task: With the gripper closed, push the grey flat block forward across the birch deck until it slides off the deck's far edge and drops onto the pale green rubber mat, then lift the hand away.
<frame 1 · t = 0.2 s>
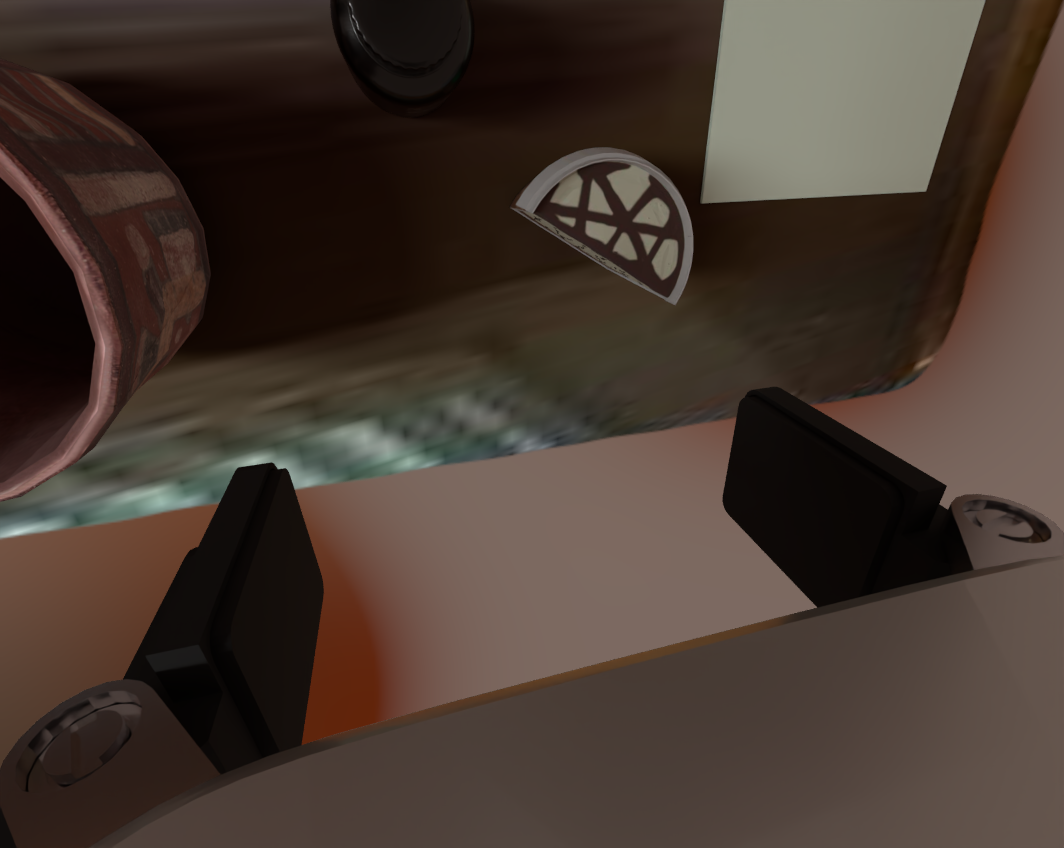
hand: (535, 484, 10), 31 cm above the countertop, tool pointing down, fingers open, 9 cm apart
pottery: (80, 227, 32), on the countertop
food container: (580, 202, 38), on the countertop
supplement bottle: (401, 55, 32), on the countertop
mat: (842, 83, 39), on the countertop
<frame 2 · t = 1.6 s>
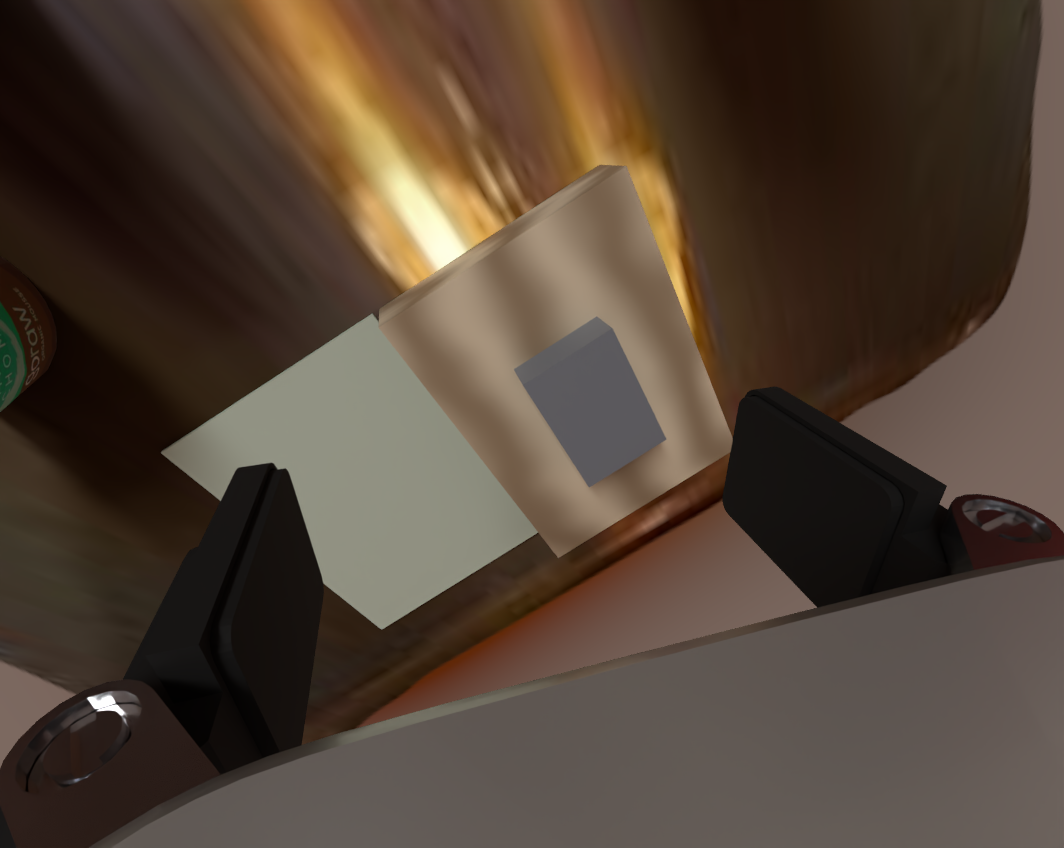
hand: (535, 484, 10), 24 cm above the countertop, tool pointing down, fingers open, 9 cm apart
food container: (12, 314, 27), on the countertop
grey flat block: (586, 397, 33), point 4 cm above the countertop, touching deck
mat: (377, 495, 37), on the countertop
deck: (567, 374, 37), on the countertop
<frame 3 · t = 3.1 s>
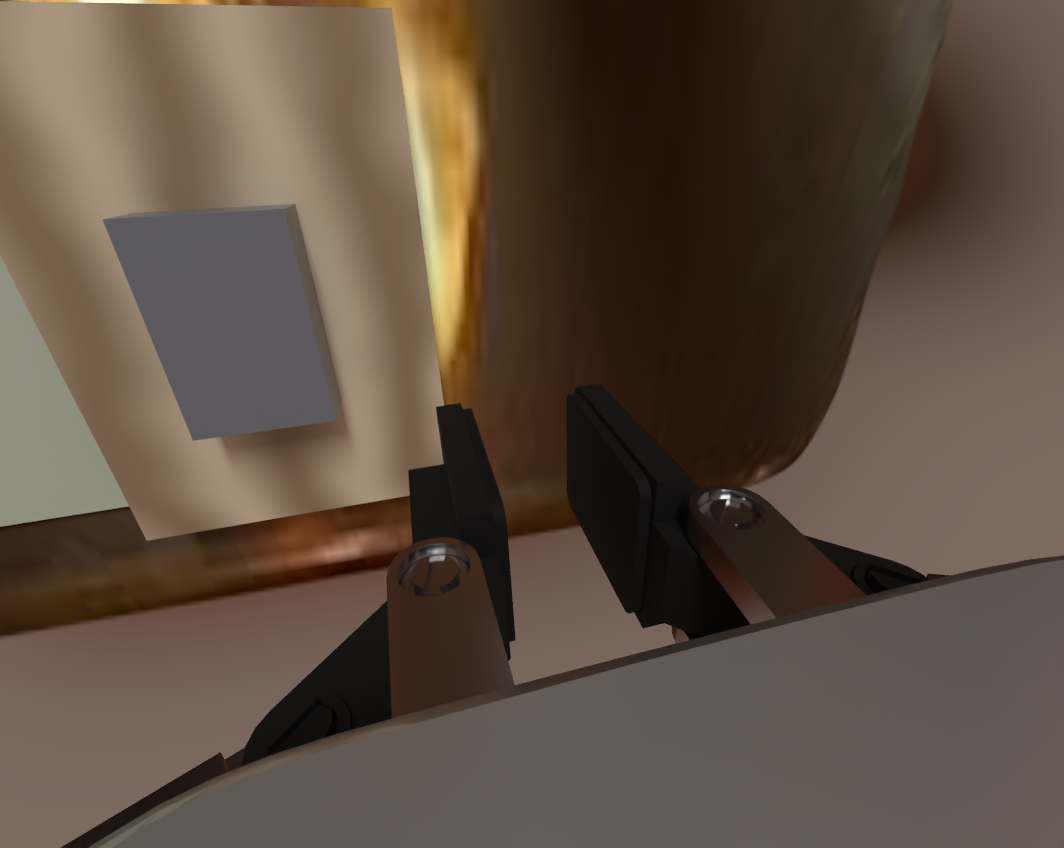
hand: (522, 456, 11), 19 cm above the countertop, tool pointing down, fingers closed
grey flat block: (249, 316, 23), point 4 cm above the countertop, touching deck
deck: (267, 295, 26), on the countertop
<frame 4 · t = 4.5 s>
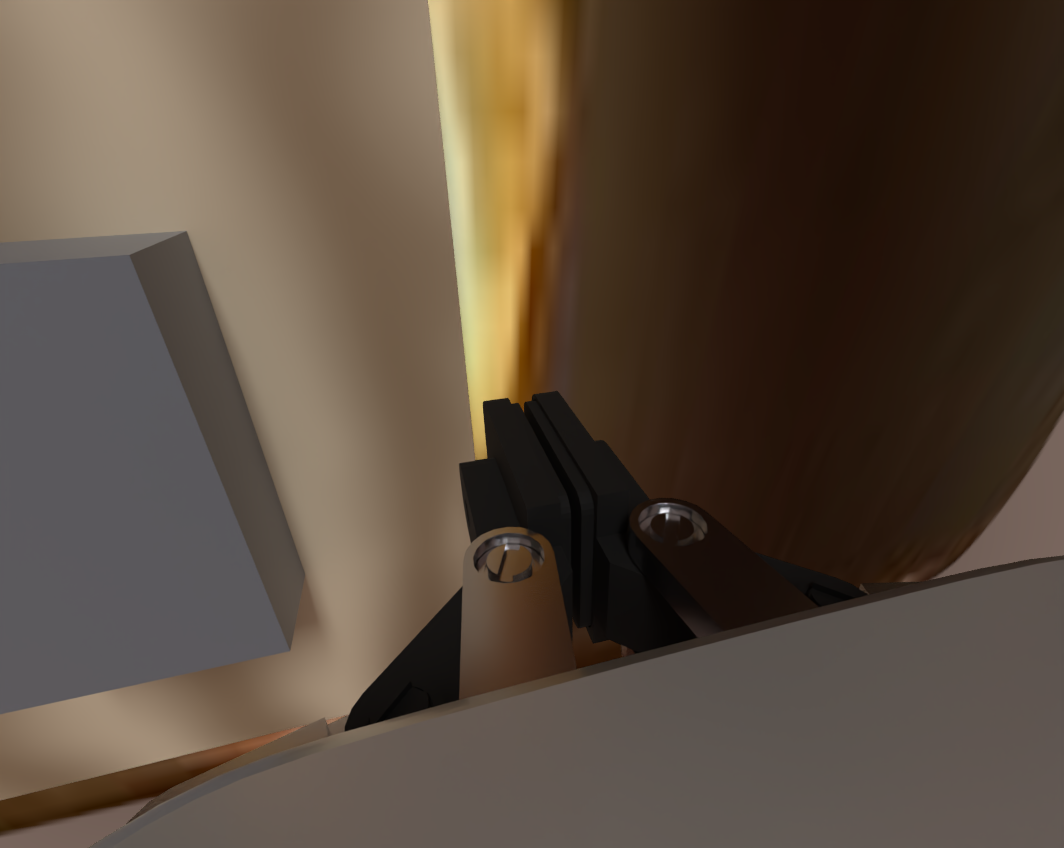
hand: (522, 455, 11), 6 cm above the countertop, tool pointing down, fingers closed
grey flat block: (111, 454, 11), point 4 cm above the countertop, touching deck
deck: (176, 382, 15), on the countertop
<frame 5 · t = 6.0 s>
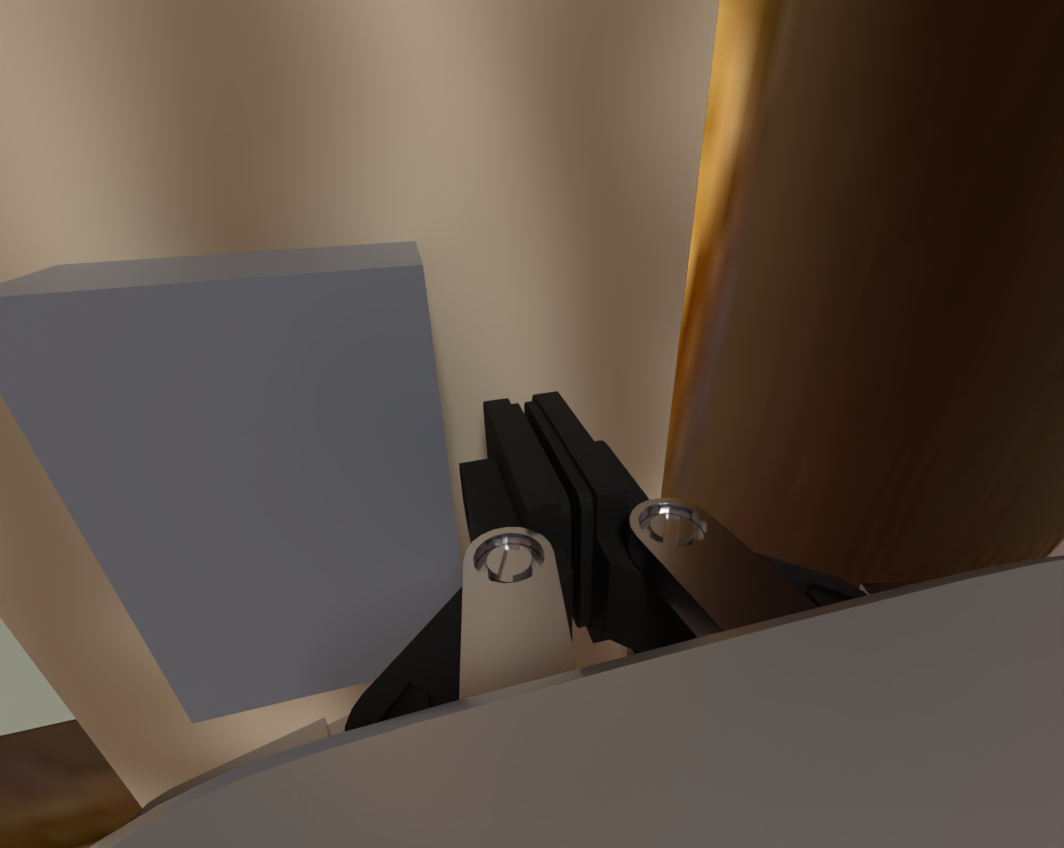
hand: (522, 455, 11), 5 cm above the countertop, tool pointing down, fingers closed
grey flat block: (307, 461, 11), point 4 cm above the countertop, touching deck, gripper
deck: (358, 385, 15), on the countertop
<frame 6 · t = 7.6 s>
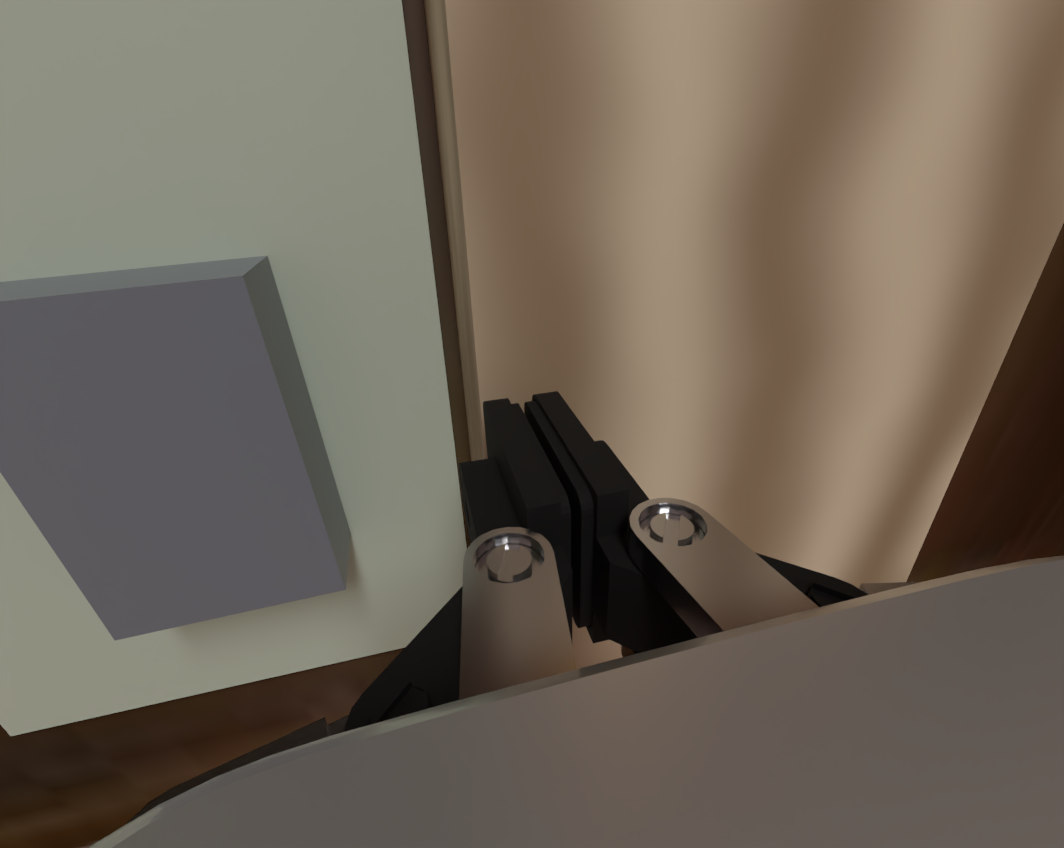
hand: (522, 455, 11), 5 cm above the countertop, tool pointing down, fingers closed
grey flat block: (170, 482, 12), point 3 cm above the countertop, tilted 180°, touching mat
mat: (153, 412, 14), on the countertop
deck: (696, 346, 17), on the countertop
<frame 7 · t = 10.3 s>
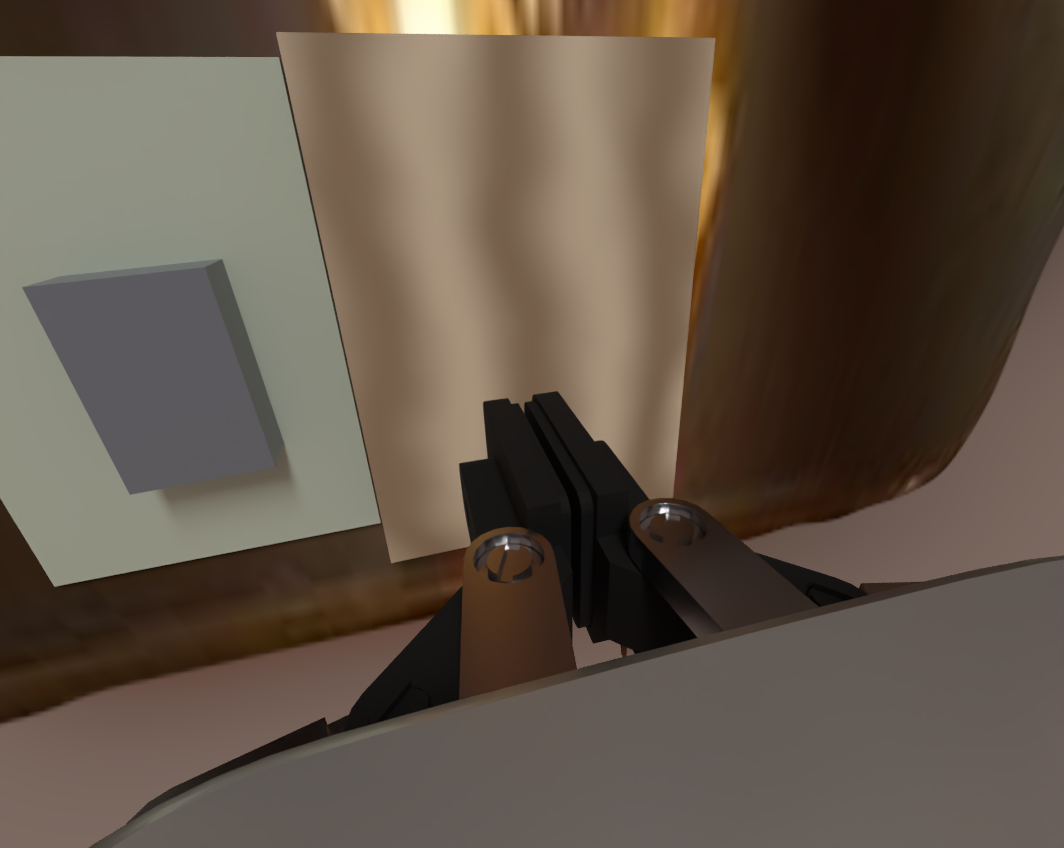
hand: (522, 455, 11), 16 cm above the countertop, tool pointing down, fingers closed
grey flat block: (164, 388, 21), point 3 cm above the countertop, tilted 180°, touching mat
mat: (153, 356, 23), on the countertop
deck: (511, 315, 26), on the countertop
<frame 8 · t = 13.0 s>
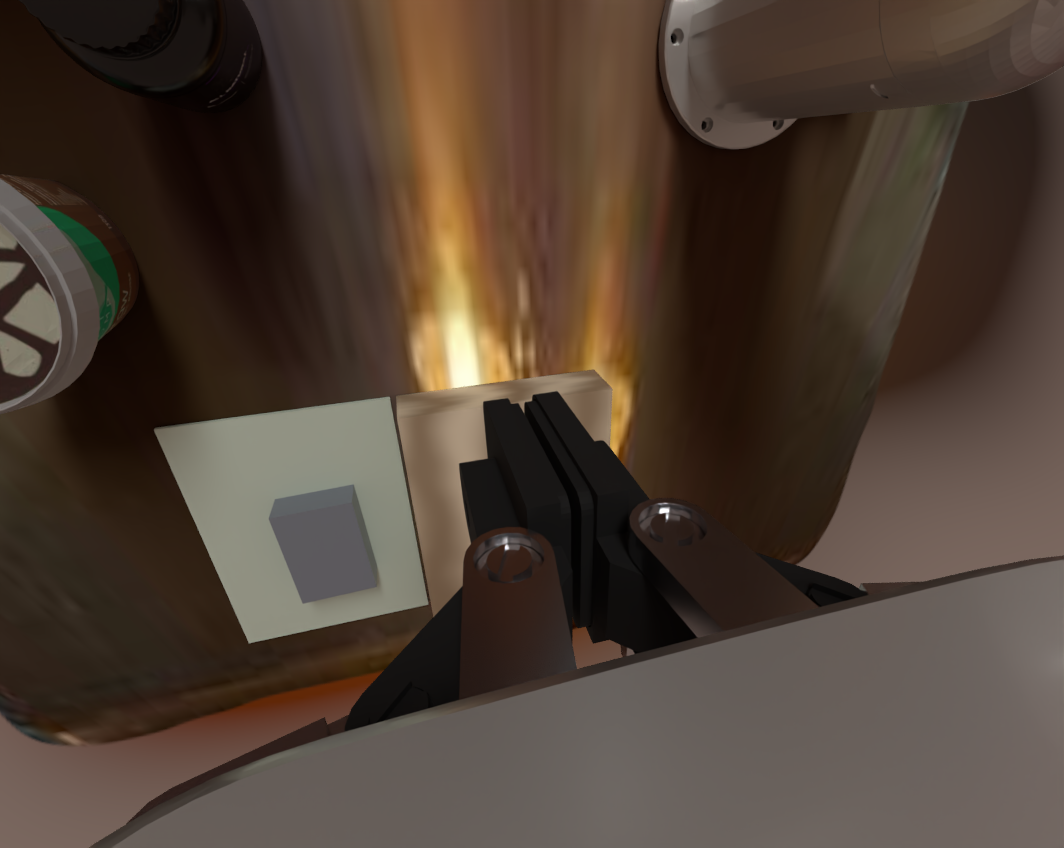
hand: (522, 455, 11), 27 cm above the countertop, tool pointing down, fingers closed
food container: (102, 281, 31), on the countertop
supplement bottle: (195, 39, 27), on the countertop
grey flat block: (326, 555, 40), point 3 cm above the countertop, tilted 180°, touching mat
mat: (313, 529, 42), on the countertop
deck: (507, 494, 45), on the countertop
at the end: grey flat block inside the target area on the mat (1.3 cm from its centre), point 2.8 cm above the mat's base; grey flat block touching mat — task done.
